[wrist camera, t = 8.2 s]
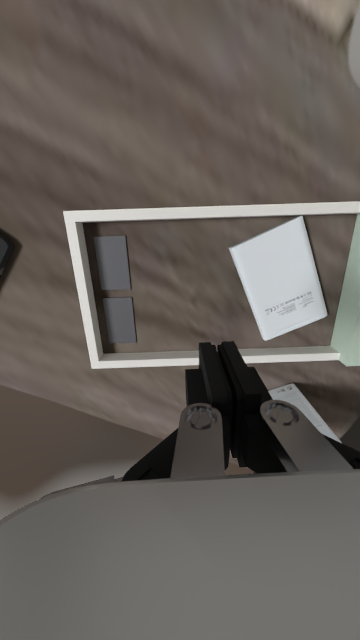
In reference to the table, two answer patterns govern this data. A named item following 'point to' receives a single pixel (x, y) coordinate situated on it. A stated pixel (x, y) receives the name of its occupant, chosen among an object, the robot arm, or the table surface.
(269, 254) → the external hard drive
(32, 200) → the table surface
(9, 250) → the smart home device
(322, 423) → the skincare box
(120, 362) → the box
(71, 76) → the table surface
